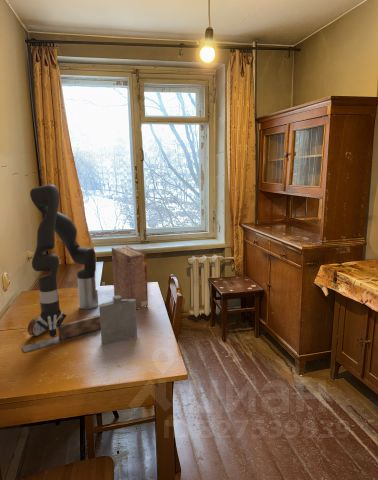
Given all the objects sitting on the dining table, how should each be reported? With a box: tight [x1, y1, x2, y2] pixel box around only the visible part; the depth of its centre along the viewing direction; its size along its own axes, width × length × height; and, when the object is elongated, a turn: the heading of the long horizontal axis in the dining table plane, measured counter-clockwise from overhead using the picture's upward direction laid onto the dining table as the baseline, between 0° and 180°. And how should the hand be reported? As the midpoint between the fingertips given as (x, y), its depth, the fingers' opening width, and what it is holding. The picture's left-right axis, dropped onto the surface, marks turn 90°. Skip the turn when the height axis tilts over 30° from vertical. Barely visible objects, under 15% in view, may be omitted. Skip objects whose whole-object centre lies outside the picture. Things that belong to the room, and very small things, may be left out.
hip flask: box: [98, 295, 138, 345], centre depth 155 cm, size 16×4×20 cm, turn 114°
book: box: [111, 245, 149, 310], centre depth 197 cm, size 25×9×30 cm, turn 34°
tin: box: [27, 314, 52, 337], centre depth 164 cm, size 15×3×8 cm, turn 160°
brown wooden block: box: [57, 314, 101, 340], centre depth 162 cm, size 18×4×6 cm, turn 125°
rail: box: [21, 328, 101, 353], centre depth 159 cm, size 36×5×1 cm, turn 125°
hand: (53, 336), depth 155 cm, fingers closed
